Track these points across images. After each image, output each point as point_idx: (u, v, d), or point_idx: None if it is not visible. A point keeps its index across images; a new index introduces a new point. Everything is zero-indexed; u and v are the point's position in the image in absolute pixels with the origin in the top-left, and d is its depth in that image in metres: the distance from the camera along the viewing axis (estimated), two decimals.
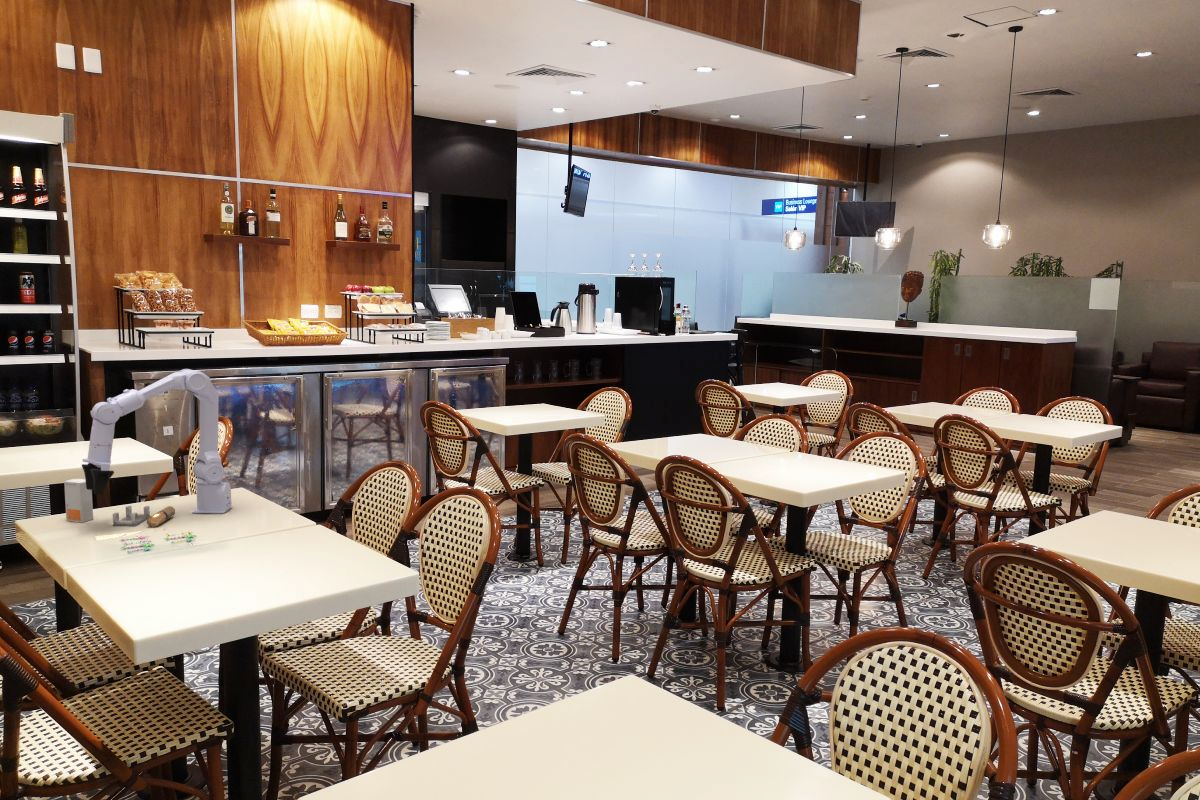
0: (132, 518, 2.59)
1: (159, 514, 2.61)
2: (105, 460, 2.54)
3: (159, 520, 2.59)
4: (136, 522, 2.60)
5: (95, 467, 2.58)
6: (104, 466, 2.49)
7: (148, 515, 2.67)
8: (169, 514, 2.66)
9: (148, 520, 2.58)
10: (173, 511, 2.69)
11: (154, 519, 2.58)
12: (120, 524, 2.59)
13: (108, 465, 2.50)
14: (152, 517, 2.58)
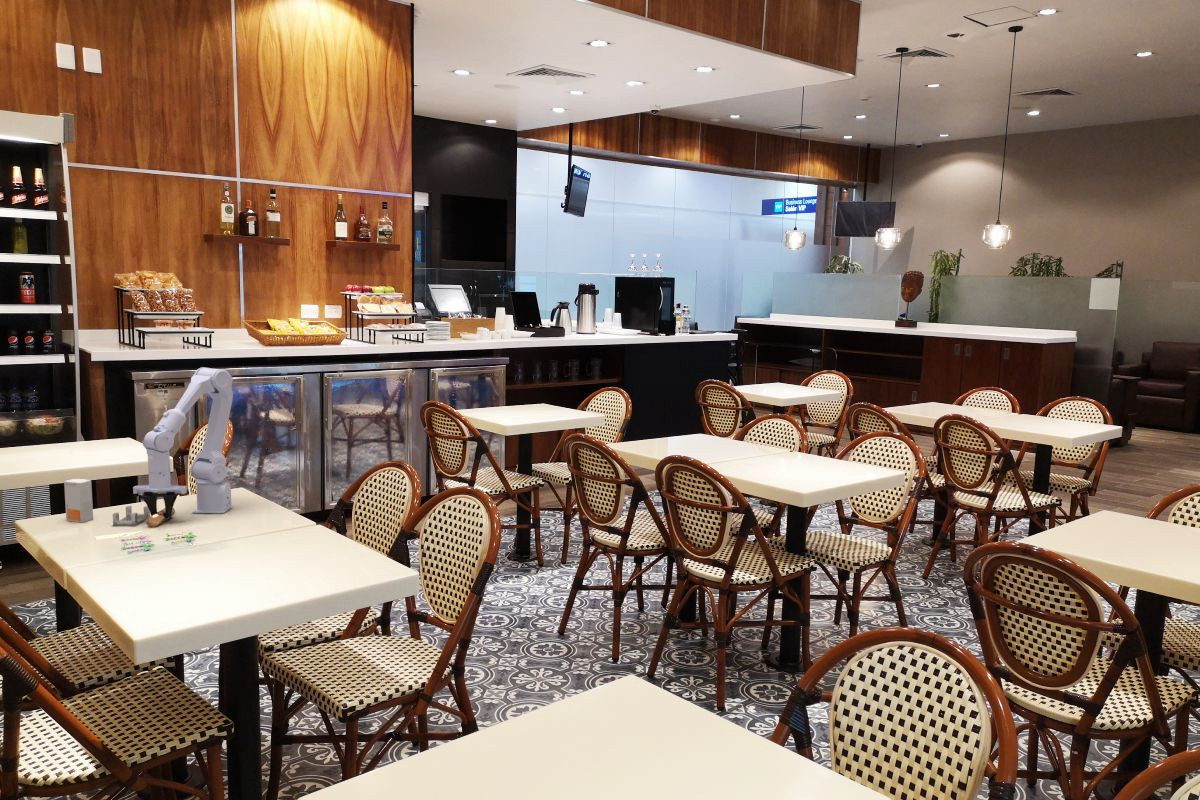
0: (132, 518, 2.59)
1: (158, 514, 2.61)
2: (170, 484, 2.64)
3: (159, 520, 2.59)
4: (136, 522, 2.60)
5: (154, 495, 2.63)
6: (185, 489, 2.63)
7: (148, 515, 2.67)
8: None
9: (148, 520, 2.58)
10: (173, 511, 2.69)
11: (153, 519, 2.58)
12: (120, 524, 2.59)
13: (186, 487, 2.64)
14: (151, 517, 2.58)
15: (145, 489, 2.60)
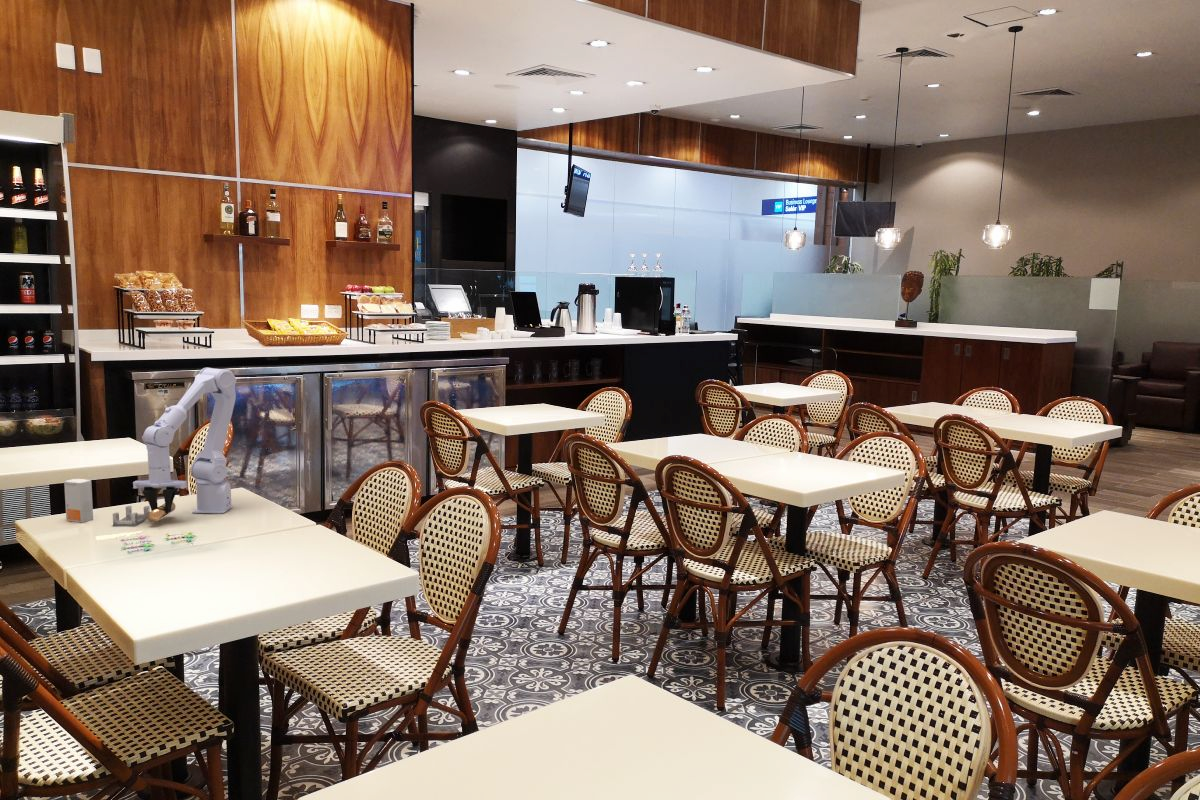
0: (132, 518, 2.59)
1: (159, 509, 2.61)
2: (170, 479, 2.64)
3: (159, 515, 2.59)
4: (136, 522, 2.60)
5: (154, 490, 2.63)
6: (184, 484, 2.63)
7: None
8: None
9: (148, 515, 2.58)
10: (173, 506, 2.69)
11: (154, 514, 2.58)
12: (120, 524, 2.59)
13: (186, 482, 2.64)
14: (152, 512, 2.58)
15: (145, 484, 2.60)
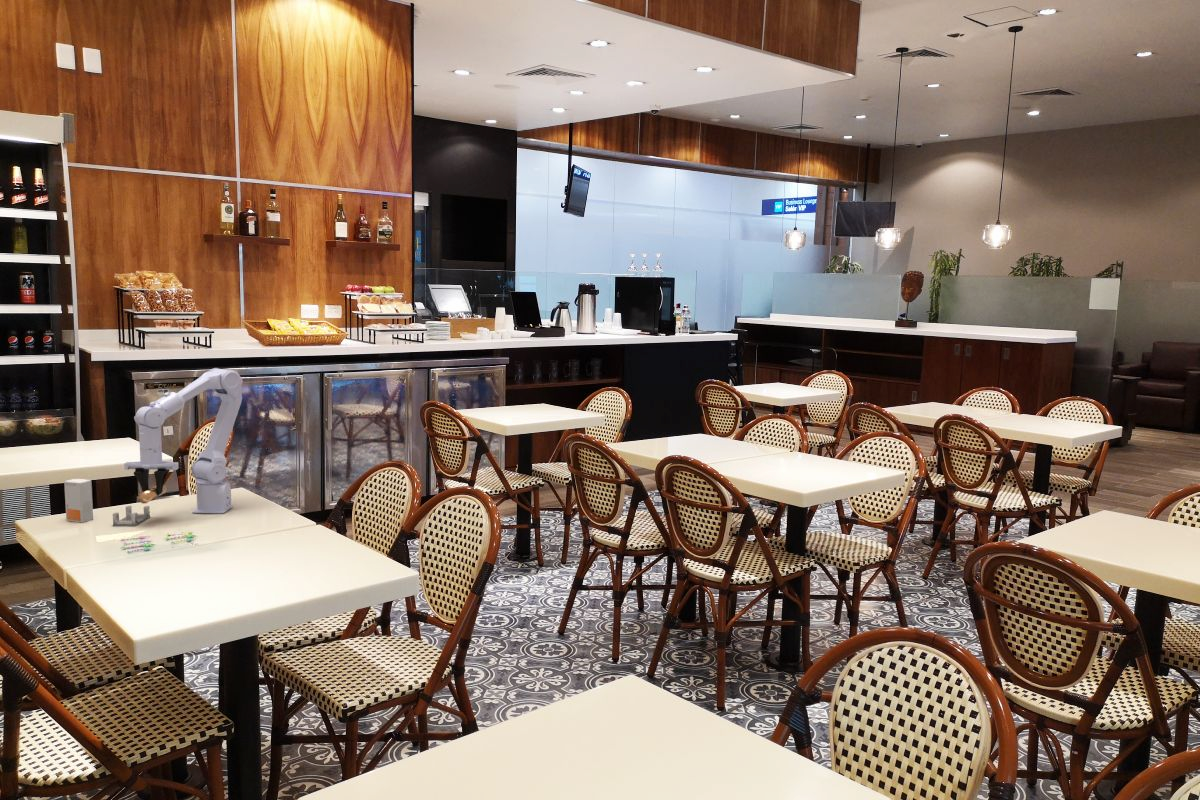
0: (132, 518, 2.59)
1: (151, 490, 2.60)
2: (162, 461, 2.63)
3: (150, 496, 2.58)
4: (136, 522, 2.60)
5: (146, 471, 2.62)
6: (176, 465, 2.62)
7: (148, 515, 2.67)
8: None
9: (139, 496, 2.57)
10: (164, 488, 2.68)
11: (145, 495, 2.57)
12: (120, 524, 2.59)
13: (177, 464, 2.63)
14: (143, 493, 2.57)
15: (136, 465, 2.59)
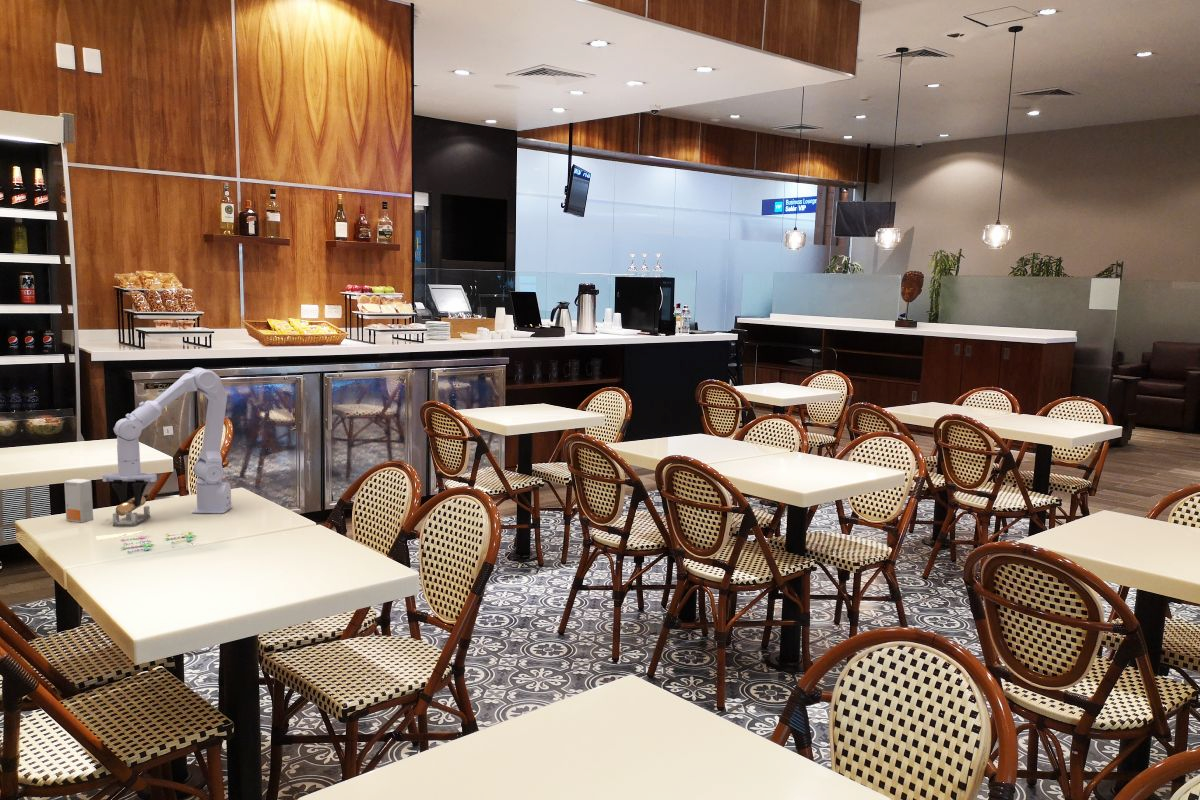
0: (132, 518, 2.59)
1: (128, 502, 2.60)
2: (140, 473, 2.63)
3: (128, 508, 2.58)
4: (136, 522, 2.60)
5: (124, 483, 2.62)
6: (154, 477, 2.62)
7: (148, 515, 2.67)
8: None
9: (117, 508, 2.57)
10: (143, 500, 2.68)
11: (123, 507, 2.57)
12: (120, 524, 2.59)
13: (156, 475, 2.63)
14: (121, 505, 2.57)
15: (114, 477, 2.60)
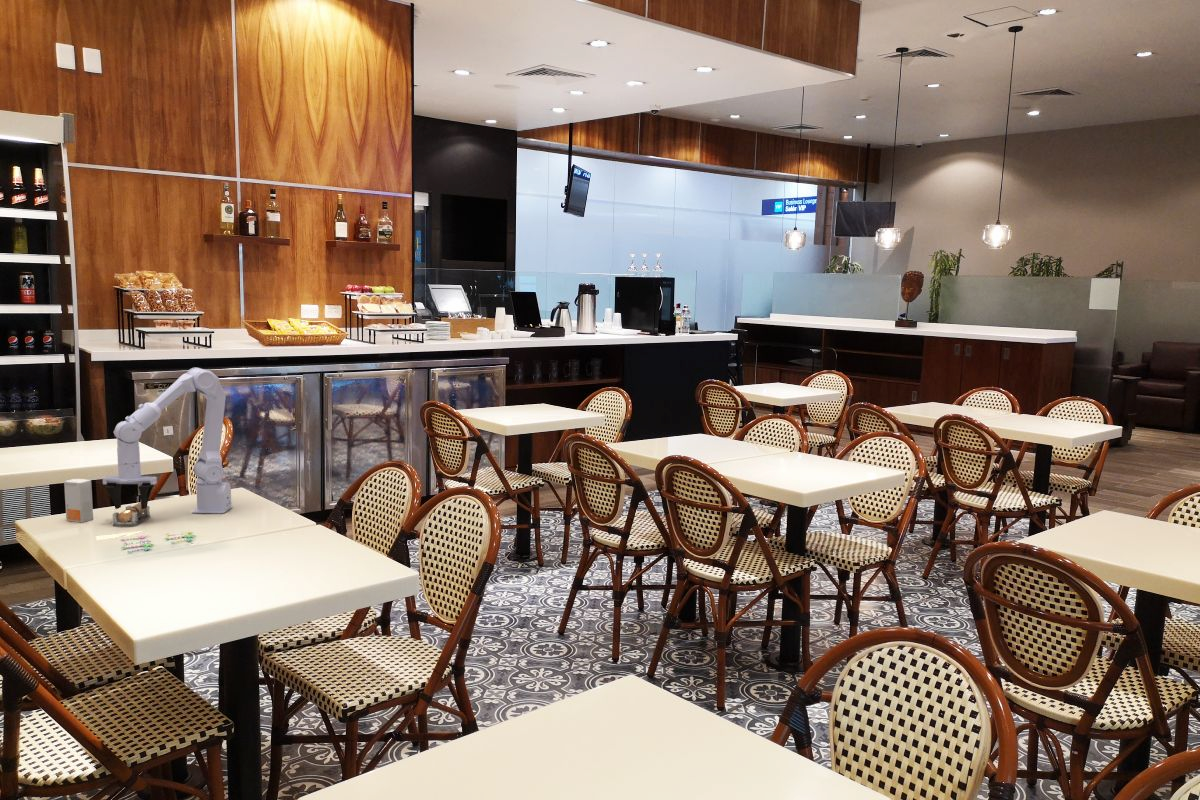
0: (132, 518, 2.59)
1: (131, 511, 2.60)
2: (140, 475, 2.63)
3: (130, 517, 2.58)
4: (136, 522, 2.60)
5: (118, 486, 2.62)
6: (154, 480, 2.62)
7: (148, 515, 2.67)
8: (141, 511, 2.65)
9: (119, 515, 2.57)
10: None
11: (125, 515, 2.57)
12: (120, 524, 2.59)
13: (156, 478, 2.63)
14: (124, 513, 2.57)
15: (114, 480, 2.60)
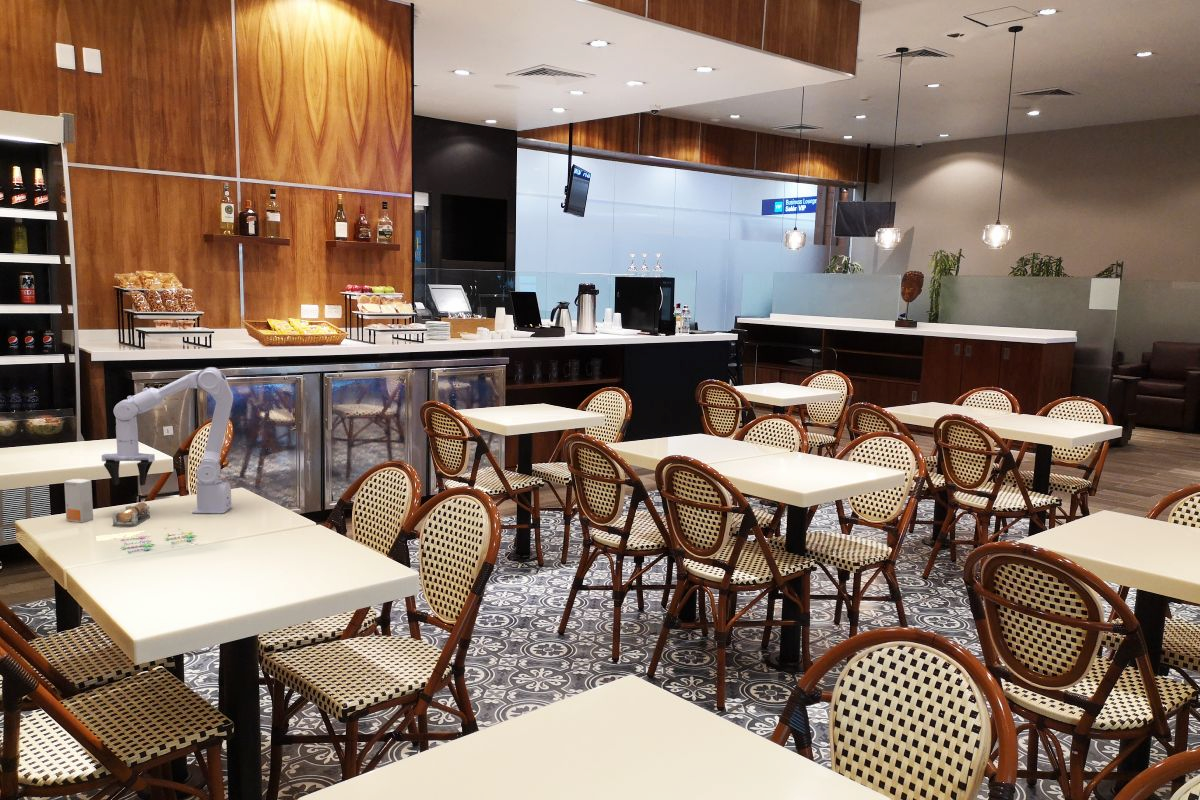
0: (132, 518, 2.59)
1: (132, 511, 2.60)
2: (138, 453, 2.70)
3: (130, 518, 2.58)
4: (136, 522, 2.60)
5: (116, 463, 2.69)
6: (152, 457, 2.69)
7: (148, 515, 2.67)
8: (141, 512, 2.65)
9: (120, 515, 2.57)
10: None
11: (126, 516, 2.57)
12: (120, 524, 2.59)
13: (153, 455, 2.70)
14: (125, 513, 2.57)
15: (113, 457, 2.67)
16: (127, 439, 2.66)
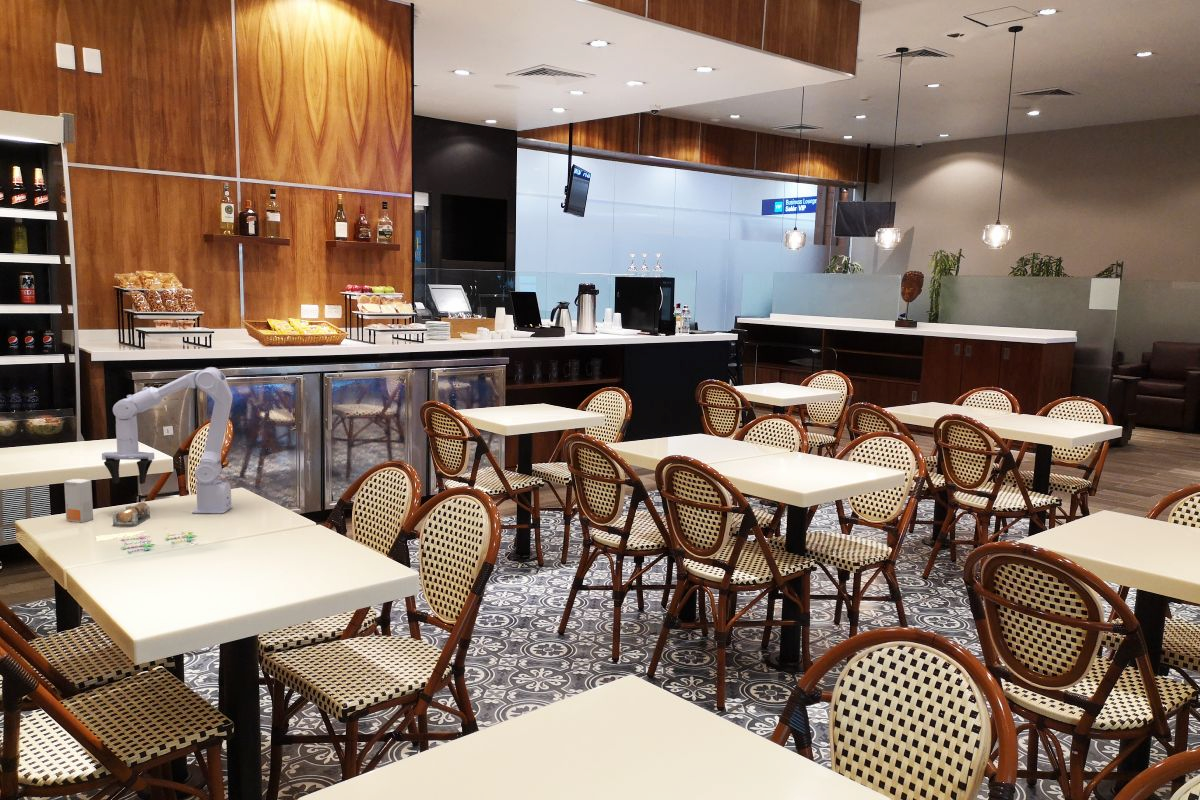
0: (132, 518, 2.59)
1: (132, 511, 2.60)
2: (138, 451, 2.71)
3: (130, 518, 2.58)
4: (136, 522, 2.60)
5: (116, 461, 2.71)
6: (152, 456, 2.70)
7: (148, 515, 2.67)
8: (141, 512, 2.65)
9: (120, 515, 2.57)
10: None
11: (126, 516, 2.57)
12: (120, 524, 2.59)
13: (153, 454, 2.71)
14: (125, 513, 2.57)
15: (113, 455, 2.68)
16: (126, 438, 2.67)
